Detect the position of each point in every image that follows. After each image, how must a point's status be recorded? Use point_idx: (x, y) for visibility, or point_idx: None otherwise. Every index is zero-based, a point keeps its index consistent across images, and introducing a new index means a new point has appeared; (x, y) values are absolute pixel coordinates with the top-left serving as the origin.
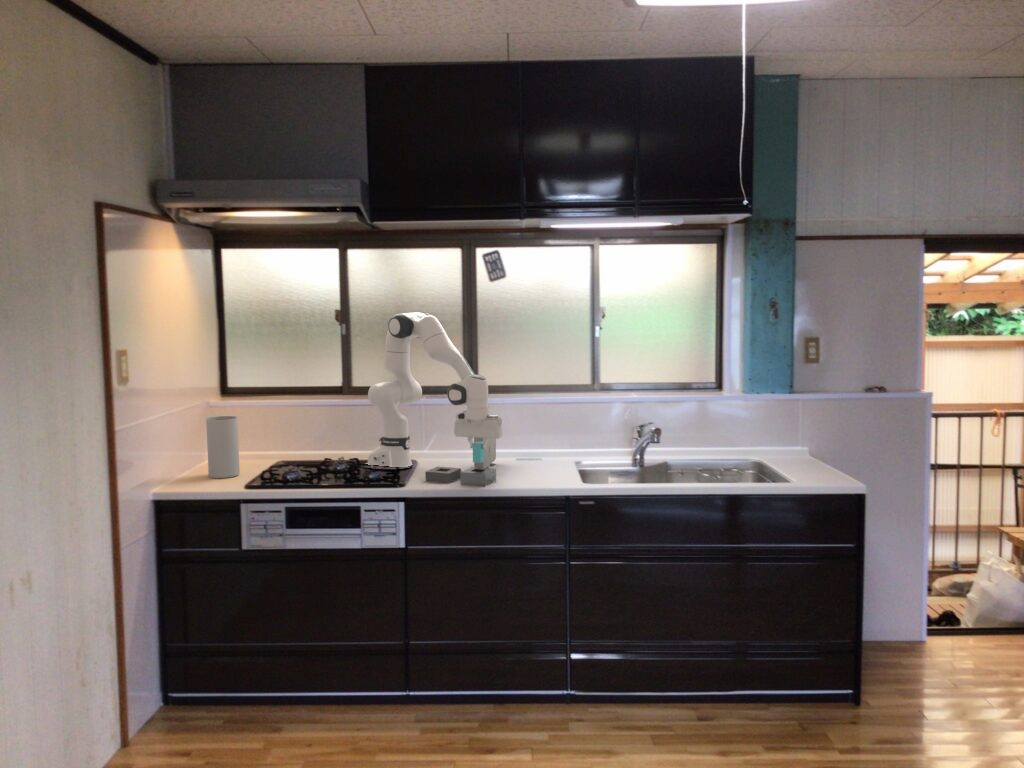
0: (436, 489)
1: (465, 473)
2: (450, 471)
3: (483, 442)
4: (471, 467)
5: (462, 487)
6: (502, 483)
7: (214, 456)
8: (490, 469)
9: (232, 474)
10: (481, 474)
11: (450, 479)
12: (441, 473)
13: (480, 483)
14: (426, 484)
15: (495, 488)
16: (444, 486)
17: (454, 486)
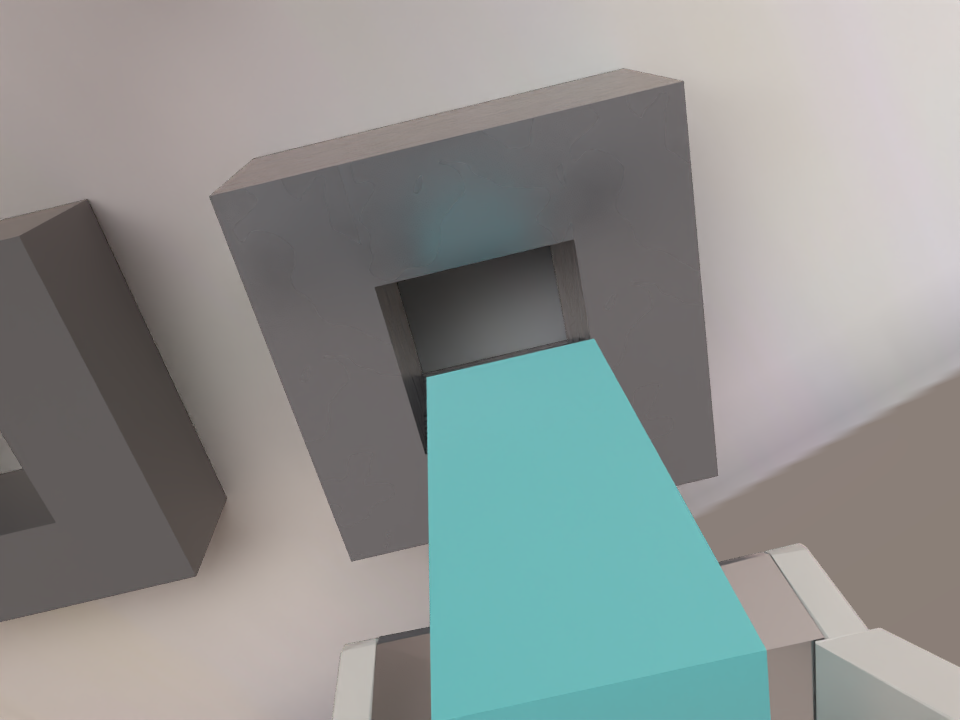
0: (325, 708)
1: (426, 533)
2: (96, 485)
3: (765, 672)
4: (245, 240)
5: None
6: (776, 155)
7: None
8: (625, 184)
9: None
10: None
11: (206, 498)
12: (86, 596)
13: None
14: (82, 646)
15: (805, 399)
16: (296, 608)
17: (378, 559)
